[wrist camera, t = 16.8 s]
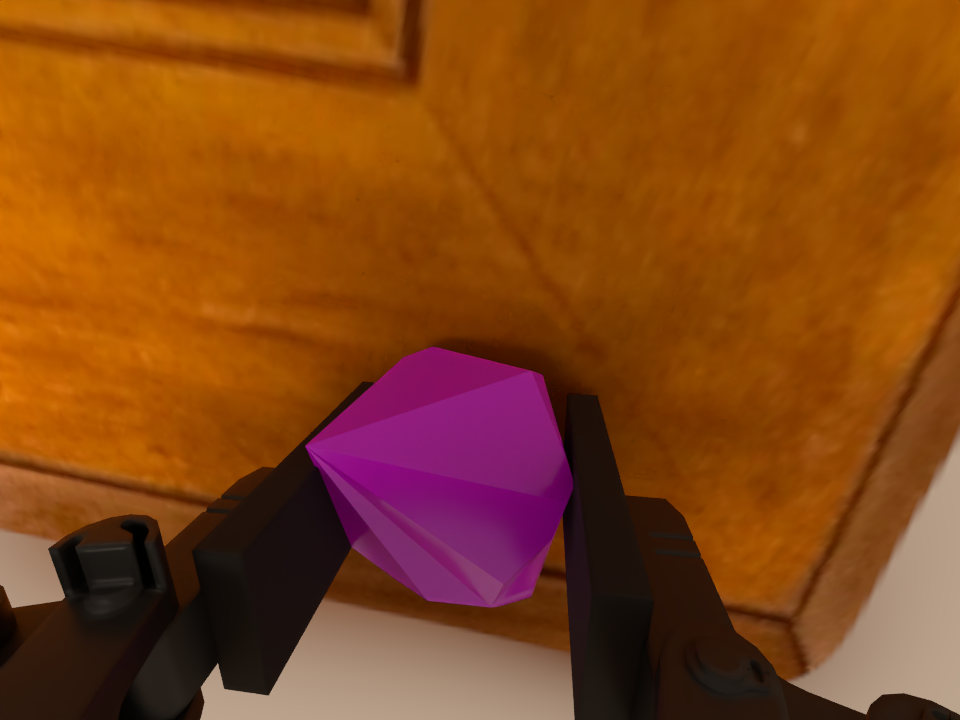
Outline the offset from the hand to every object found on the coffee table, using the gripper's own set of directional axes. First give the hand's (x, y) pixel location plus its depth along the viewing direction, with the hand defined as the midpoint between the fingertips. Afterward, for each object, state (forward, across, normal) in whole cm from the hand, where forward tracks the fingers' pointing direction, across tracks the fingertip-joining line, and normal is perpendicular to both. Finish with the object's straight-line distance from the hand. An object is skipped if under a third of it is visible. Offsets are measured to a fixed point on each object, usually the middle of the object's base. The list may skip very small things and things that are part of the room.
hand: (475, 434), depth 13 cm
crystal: (+1, 0, 0) cm, 1 cm away
